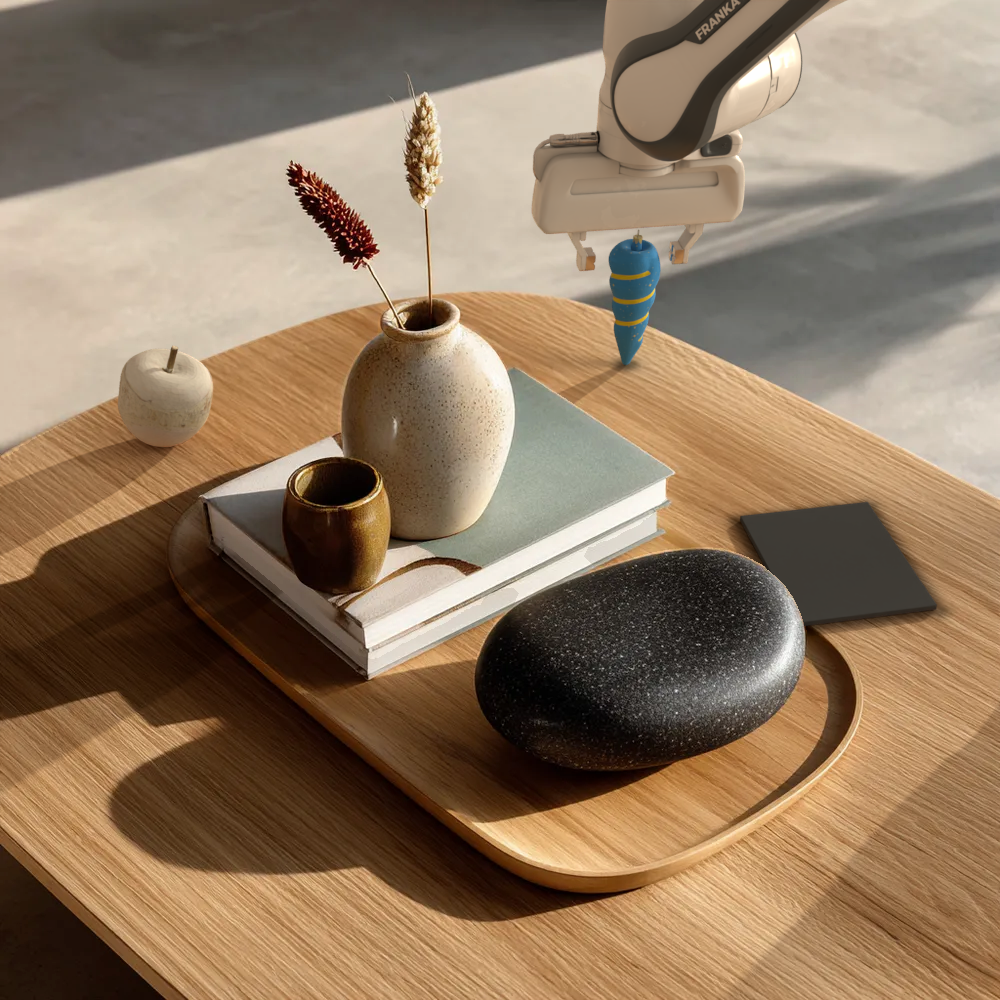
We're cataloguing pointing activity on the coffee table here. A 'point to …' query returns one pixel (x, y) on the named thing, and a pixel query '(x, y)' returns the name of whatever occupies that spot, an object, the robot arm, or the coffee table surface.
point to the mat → (837, 563)
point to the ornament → (632, 291)
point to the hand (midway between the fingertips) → (631, 264)
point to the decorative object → (164, 396)
